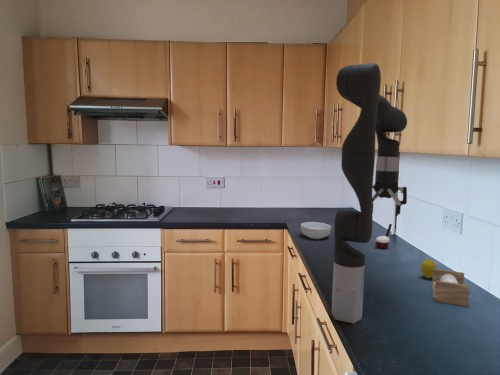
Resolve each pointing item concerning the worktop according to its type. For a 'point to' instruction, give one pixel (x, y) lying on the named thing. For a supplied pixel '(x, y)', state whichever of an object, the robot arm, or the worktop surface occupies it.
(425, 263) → the lemon
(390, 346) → the worktop surface
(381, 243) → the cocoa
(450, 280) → the paper roll
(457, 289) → the roll holder
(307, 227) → the cereal bowl
